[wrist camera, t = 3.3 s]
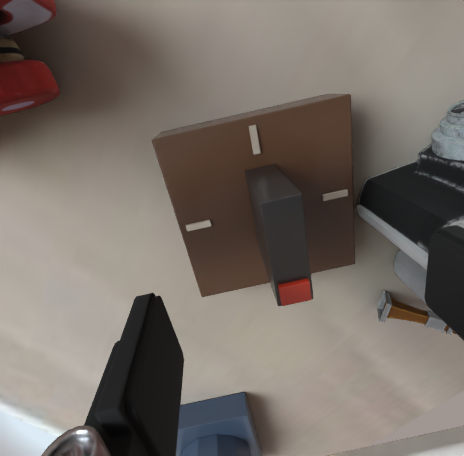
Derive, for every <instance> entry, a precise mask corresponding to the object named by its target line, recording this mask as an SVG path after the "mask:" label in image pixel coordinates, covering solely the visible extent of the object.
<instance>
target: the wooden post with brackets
mask: <svg viewBox="0 0 464 456" xmlns="http://www.w3.org/2000/svg"><path fill="white" fill-rule="evenodd" d="M377 311H378V317H379V322H380V321H383V322H385V320H386V318H396V319H402V320H408V321H414V322H418V323H422V324H424V325H425V327H430V328H433V329H436V330H439V331H441V332H443V330H444V331H445V332H446V334H450V335H451V334H452V333H454V334H456V333H455V332H454V331H453V330H452V329H451V328H450V327H449V326H448V325H447V324H446V323H445V322H444V321H443V320H442V319H440V318H439V317H438V316H437V315H436V314H435V313H434V312H432V311H430V310H428V309H427V310H426V311H424V310H420V309H417V308H414V307H411V306H409V305H406V304H403V303H401V302H398V301H396V300H394V299H392V298H390V295H389V292H385V291H383V294H382V296H381V299H380V301H379V304H378V306H377Z"/></svg>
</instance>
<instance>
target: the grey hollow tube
mask: <svg viewBox="0 0 464 456" xmlns="http://www.w3.org/2000/svg"><path fill="white" fill-rule="evenodd" d="M394 270H395V273H396V275H397V276H398V277H399V278H400V279H401V281H402V282H403V283H404V284H405V285H407V286H408V287H409V288H410V289H411V290H412V291H413V292H414V293H415V294H416V295H417V296H418V297H419V298H420V299H421V300H422V301H423V302H424V303H425V304H426V302H425V298H424V296H425V285H426V274H427V270H426V269H425V268H423V267H422V266H421V265H420V264H418V263H417V262H416V261H415V260H414V259H412V258H411V257H410V256H409V255H407V254H406V253H405V252H404V251H402V250H401V249H400V250H399V251H398V253H397V255H396V257H395V260H394ZM426 305H427V304H426ZM456 334H457V333H456ZM457 335H458V334H457ZM458 336H459V335H458ZM459 337H460V336H459ZM460 338H461V337H460ZM461 339H462V338H461ZM462 340H463V339H462ZM463 341H464V340H463Z"/></svg>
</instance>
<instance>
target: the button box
mask: <svg viewBox="0 0 464 456" xmlns="http://www.w3.org/2000/svg"><path fill="white" fill-rule="evenodd" d="M176 456H262V450H261V447H260V443H259V440H258V436H257V433H256V429H255V426H254V423H253V419H252V416H251V412H250V409H249V405H248V402H247V399H246V395H245V392H242V393H238V394H233V395H228V396H223V397H219V398H214V399H209V400H204V401H200V402H195V403H190V404H185V405H181V406H180V413H179V425H178V437H177V448H176Z"/></svg>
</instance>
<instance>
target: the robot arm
mask: <svg viewBox="0 0 464 456" xmlns="http://www.w3.org/2000/svg"><path fill="white" fill-rule="evenodd" d="M424 298H425V302H426V304H427V306H428V307H429V308H430V309H431V310H432V311H433V312H434V313H435V314H436V315H437V316H438V317H439V318H440V319H442V320H443V321H444V322H445V323H446V324H447V325H448V326H449V327H450V328H451V329H452V330H453V331H454V332H455V333H457V334H458V335H459V336H460V337H461V338H462V339H463V340H464V228H462V227H460V226H458V225H452V226H448V227H443V228H439V229H436V230H435V231H434V234H433V235H431V236H430V241H429V252H428V263H427V274H426V285H425V296H424ZM183 365H184V358H183V352H182V349H181V347H180V344H179V342H178V339H177V337H176V334H175V331H174V329H173V326H172V324H171V321H170V319H169V316H168V314H167V311H166V308H165V306H164V303H163V301H162V298H161V297H160V296H155V294H154V293H150V294H146V295H141V296H137V297H136V298H135V300H134V303H133V305H132V308H131V311H130V314H129V317H128V319H127V322H126V325H125V328H124V331H123V333H122V336H121V339H120V341H118V342H116V343H115V345H114V347H113V349H112V352H111V355H110V357H109V360H108V363H107V365H106V368H105V371H104V373H103V376H102V379H101V381H100V384H99V387H98V389H97V392H96V395H95V398H94V400H93V403H92V406H91V408H90V411H89V414H88V416H87V419H86V422H85V424H84V426H78V427H75V428H73V429H70V430H68V431H67V432H65V433H64V434H62V435H61V436H59V437H58V438H57V439H56V440H55V441H54V442H53V443H52V444H50V446H48V448H47V449H46V450H45V451H44V453H43V454H42V456H176V448H177V437H178V425H179V413H180V401H181V389H182V377H183ZM328 456H464V426H461V427H456V428H451V429H447V430H442V431H438V432H433V433H429V434H424V435H419V436H415V437H410V438H405V439H401V440H397V441H392V442H387V443H383V444H379V445H373V446H369V447H364V448H360V449H355V450H351V451H346V452H342V453H337V454H333V455H328Z"/></svg>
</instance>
